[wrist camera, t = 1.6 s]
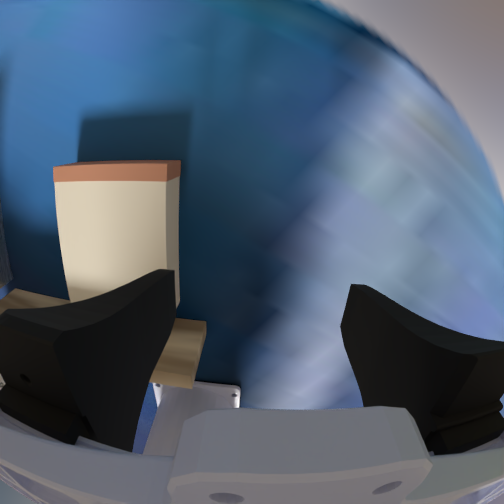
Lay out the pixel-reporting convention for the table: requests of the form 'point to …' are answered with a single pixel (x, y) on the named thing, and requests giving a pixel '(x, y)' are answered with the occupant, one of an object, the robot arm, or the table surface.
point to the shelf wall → (175, 351)
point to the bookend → (4, 257)
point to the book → (117, 222)
